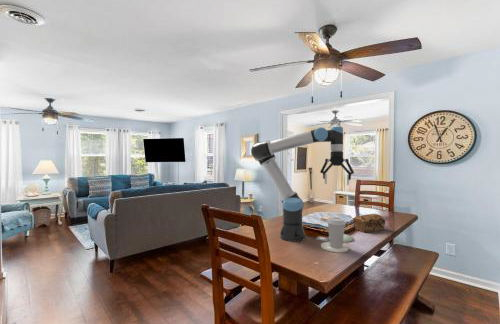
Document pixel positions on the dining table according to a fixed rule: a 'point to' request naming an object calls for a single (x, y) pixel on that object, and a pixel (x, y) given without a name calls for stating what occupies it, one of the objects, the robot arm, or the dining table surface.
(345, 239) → the coaster sage
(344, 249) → the coaster cream
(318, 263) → the dining table surface
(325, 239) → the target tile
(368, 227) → the bread
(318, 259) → the dining table surface
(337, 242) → the coffee cup
